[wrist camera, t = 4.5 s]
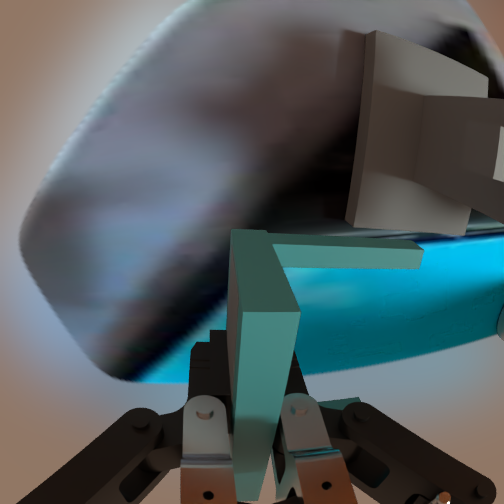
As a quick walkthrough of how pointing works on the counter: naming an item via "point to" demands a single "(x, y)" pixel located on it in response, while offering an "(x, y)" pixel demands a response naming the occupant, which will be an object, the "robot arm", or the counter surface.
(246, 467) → the teal c-shaped bracket
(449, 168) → the stand
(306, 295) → the counter surface
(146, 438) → the robot arm
